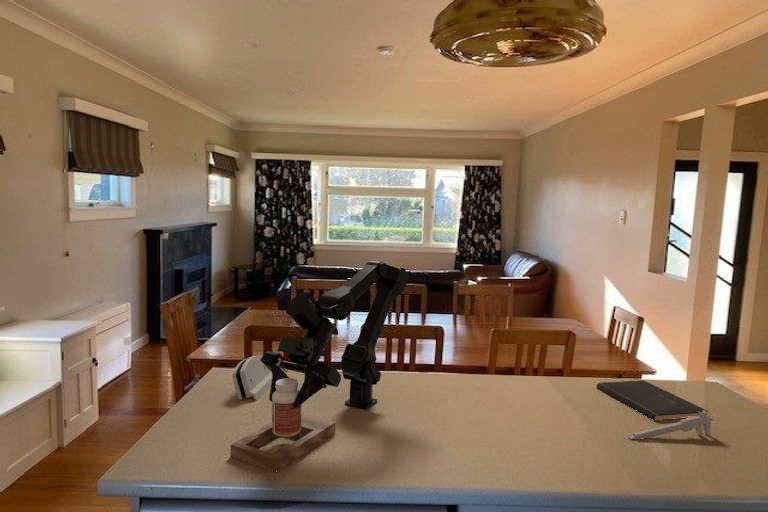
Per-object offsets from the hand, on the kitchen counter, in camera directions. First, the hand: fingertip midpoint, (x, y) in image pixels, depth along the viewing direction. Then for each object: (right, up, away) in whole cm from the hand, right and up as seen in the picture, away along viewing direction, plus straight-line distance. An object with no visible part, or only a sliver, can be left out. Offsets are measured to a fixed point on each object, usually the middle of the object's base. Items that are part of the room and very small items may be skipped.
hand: (282, 404), depth 104 cm
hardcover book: (+94, -10, +32) cm, 100 cm away
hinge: (-15, -6, +34) cm, 37 cm away
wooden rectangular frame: (0, -9, +2) cm, 9 cm away
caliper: (+88, -11, +10) cm, 89 cm away
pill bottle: (+1, -7, +2) cm, 7 cm away
